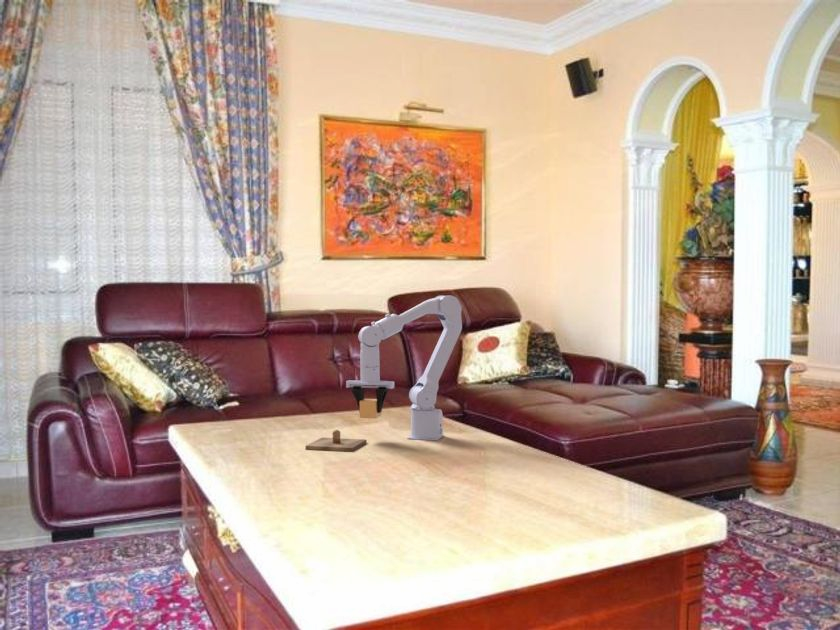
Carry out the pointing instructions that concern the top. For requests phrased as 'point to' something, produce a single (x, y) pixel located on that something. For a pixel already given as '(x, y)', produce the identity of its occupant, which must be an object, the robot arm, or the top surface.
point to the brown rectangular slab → (336, 443)
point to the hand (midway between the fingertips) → (370, 412)
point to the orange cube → (369, 408)
